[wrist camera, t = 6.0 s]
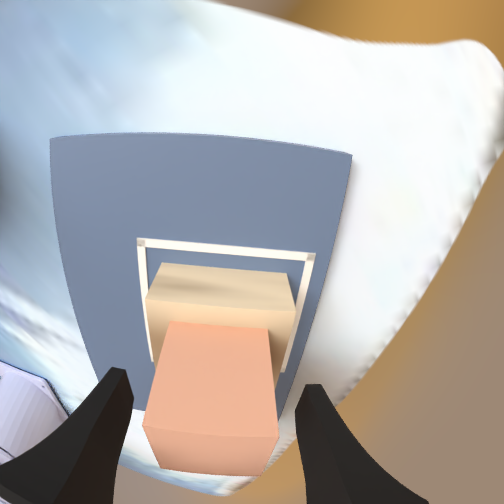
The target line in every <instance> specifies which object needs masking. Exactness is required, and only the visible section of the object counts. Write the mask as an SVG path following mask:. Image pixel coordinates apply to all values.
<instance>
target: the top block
mask: <svg viewBox="0 0 504 504" xmlns="http://www.w3.org/2000/svg"><path fill="white" fill-rule="evenodd" d="M142 426H143V429H144V431H145V434H146V436H147V439H148V441H149V443H150V446H151V448H152V450H153V453H154V455H155V457H156V459H157V461H158V464H159V466H160V468H162V469H168V470H175V471H182V472H190V473H200V474H211V475H227V476H261V475H262V473H263V471H264V469H265V467H266V464H267V462H268V460H269V458H270V456H271V454H272V452H273V450H274V447H275V445H276V443H277V441H278V439H279V429H278V420H277V410H276V401H275V391H274V382H273V373H272V364H271V355H270V346H269V336H268V329H263V328H247V327H233V326H220V325H208V324H198V323H188V322H179V321H170V322H169V326H168V329H167V332H166V336H165V339H164V343H163V346H162V350H161V353H160V357H159V361H158V364H157V368H156V372H155V376H154V379H153V383H152V387H151V391H150V395H149V399H148V403H147V407H146V411H145V415H144V420H143V424H142Z"/></svg>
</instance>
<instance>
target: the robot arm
mask: <svg viewBox="0 0 504 504" xmlns="http://www.w3.org/2000/svg"><path fill="white" fill-rule="evenodd" d="M0 375H1V377H2V379H1V380H0V504H113V495H114V484H115V477H116V470H117V465H118V460H119V457H120V453H121V450H122V446H123V443H124V439H125V436H126V433H127V429H128V426H129V423H130V419H131V414H132V409H133V403H134V395H133V392H132V389H131V386H130V382H129V379H128V376H127V372H126V369H121V368H116V367H111V368H110V369H109V370H108V372H107V373H106V374H105V375H104V377H103V378H102V379H101V381H100V382H99V383H98V384H97V386H96V387H95V388H94V389H93V390H92V392H91V393H90V394H89V395H88V396H87V397H86V399H85V400H84V401H83V402H82V403H81V404H80V406H79V407H78V408H77V409H76V410H75V411H74V412H73V413H72V414H71V415H70V416H69V417H68V415H67V414H66V412H65V411H64V409H63V408H62V406H61V405H60V403H59V401H58V400H57V398H56V397H55V395H54V393H53V392H52V390H51V388H50V387H49V385H48V383H47V382H46V380H44V379H43V378H40V377H38V376H35V375H32V374H30V373H27V372H24V371H22V370H19V369H17V368H15V367H12V366H10V365H7V364H5V363H3V362H1V361H0ZM295 423H296V434H297V439H298V444H299V450H300V454H301V460H302V465H303V470H304V476H305V482H306V496H307V504H429V503H428V501H427V500H425V499H423V498H422V497H420V496H418V495H417V494H415V493H414V492H412V491H411V490H409V489H408V488H406V487H405V486H403V485H402V484H401V483H399V482H398V481H397V480H396V479H394V478H393V477H392V476H391V475H390V474H388V473H387V472H386V471H385V470H384V469H383V468H382V467H381V466H380V465H379V464H378V463H377V462H375V460H374V459H373V458H372V457H371V456H370V455H369V454H368V453H367V452H366V450H365V449H364V448H363V447H362V446H361V444H360V443H359V442H358V441H357V439H356V438H355V437H354V436H353V434H352V433H351V431H350V430H349V429H348V428H347V426H346V424H345V423H344V421H343V420H342V419H341V417H340V415H339V414H338V412H337V411H336V409H335V407H334V406H333V404H332V402H331V401H330V399H329V397H328V396H327V394H326V392H325V390H324V389H323V387H322V385H321V384H306V386H305V388H304V390H303V393H302V395H301V398H300V400H299V402H298V405H297V407H296V409H295Z"/></svg>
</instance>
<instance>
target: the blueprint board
mask: <svg viewBox="0 0 504 504" xmlns="http://www.w3.org/2000/svg"><path fill="white" fill-rule="evenodd" d="M352 156H353V155H351V154H348V153H345V152H340V151H335V150H330V149H324V148H319V147H313V146H307V145H300V144H294V143H287V142H279V141H272V140H263V139H255V138H245V137H234V136H222V135H208V134H189V133H105V134H88V135H74V136H63V137H56V138H52V139H50V168H51V184H52V196H53V205H54V214H55V222H56V229H57V235H58V241H59V247H60V252H61V258H62V263H63V268H64V272H65V277H66V281H67V285H68V289H69V293H70V297H71V301H72V305H73V308H74V312H75V315H76V319H77V322H78V325H79V329H80V332H81V335H82V338H83V341H84V344H85V347H86V349H87V352H88V355H89V358H90V361H91V363H92V366H93V368H94V371H95V373H96V376H97V378H98V381H99V382H100V381H101V379H102V378H103V377H104V375H105V374H106V373H107V372H108V370H109V369H110V368H111V367H116V368H121V369H126V372H127V376H128V379H129V382H130V386H131V389H132V392H133V395H134V403H133V409H137V410H142V411H146V407H147V403H148V399H149V395H150V391H151V387H152V383H153V379H154V376H155V372H156V371H155V366H154V360H153V354H152V348H151V342H150V335H149V328H148V321H147V313H146V305H145V297H146V295H147V293H148V291H149V289H150V286H151V284H152V282H153V280H154V278H155V276H156V274H157V272H158V270H159V268H160V265H161V263H162V262H163V263H173V264H184V265H195V266H206V267H217V268H228V269H240V270H252V271H265V272H277V273H287V277H288V281H289V285H290V289H291V293H292V297H293V301H294V305H295V308H296V315H295V319H294V323H293V327H292V331H291V334H290V338H289V342H288V346H287V349H286V353H285V356H284V360H283V364H282V367H281V371H280V374H279V378H278V381H277V384H276V388H275V401H276V410H277V420H278V421H279V418H280V416H281V413H282V410H283V408H284V405H285V402H286V400H287V397H288V394H289V391H290V389H291V386H292V383H293V380H294V377H295V374H296V371H297V369H298V366H299V363H300V360H301V357H302V354H303V351H304V347H305V344H306V341H307V338H308V335H309V332H310V328H311V325H312V322H313V319H314V315H315V312H316V308H317V305H318V302H319V298H320V295H321V291H322V287H323V284H324V280H325V276H326V273H327V269H328V265H329V261H330V257H331V253H332V249H333V245H334V241H335V237H336V233H337V228H338V224H339V220H340V215H341V211H342V206H343V202H344V197H345V192H346V187H347V182H348V177H349V172H350V167H351V161H352Z"/></svg>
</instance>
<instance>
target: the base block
mask: <svg viewBox="0 0 504 504" xmlns="http://www.w3.org/2000/svg"><path fill="white" fill-rule="evenodd" d="M145 305H146V313H147V321H148V328H149V335H150V342H151V348H152V354H153V360H154V366H155V371H156V368H157V364H158V361H159V357H160V353H161V350H162V346H163V343H164V339H165V336H166V332H167V329H168V326H169V322H170V321H179V322H188V323H198V324H208V325H220V326H233V327H247V328H263V329H268V336H269V346H270V355H271V364H272V373H273V382H274V391H275V388H276V384H277V381H278V378H279V374H280V371H281V367H282V364H283V360H284V356H285V353H286V349H287V346H288V342H289V338H290V334H291V331H292V327H293V323H294V319H295V315H296V308H295V305H294V301H293V297H292V293H291V289H290V285H289V281H288V277H287V273H277V272H265V271H252V270H240V269H228V268H217V267H206V266H195V265H184V264H173V263H163V262H162V263H161V265H160V268H159V270H158V272H157V274H156V276H155V278H154V280H153V282H152V284H151V286H150V289H149V291H148V293H147V295H146V297H145Z"/></svg>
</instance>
